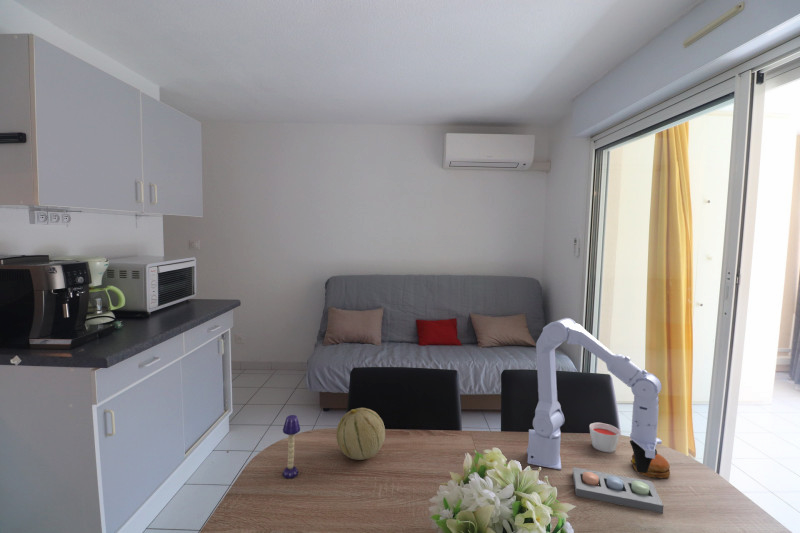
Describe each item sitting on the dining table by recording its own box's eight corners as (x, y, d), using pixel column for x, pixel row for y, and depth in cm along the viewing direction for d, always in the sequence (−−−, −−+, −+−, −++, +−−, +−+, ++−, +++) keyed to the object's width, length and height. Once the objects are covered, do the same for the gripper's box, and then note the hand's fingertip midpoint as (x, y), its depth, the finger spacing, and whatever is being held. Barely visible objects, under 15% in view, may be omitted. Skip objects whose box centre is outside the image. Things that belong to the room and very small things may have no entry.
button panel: (576, 495, 108) (576, 488, 108) (572, 473, 119) (572, 466, 119) (662, 513, 102) (663, 505, 102) (651, 488, 113) (651, 481, 112)
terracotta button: (583, 485, 111) (583, 478, 111) (581, 477, 115) (581, 470, 115) (599, 488, 110) (599, 481, 110) (597, 480, 114) (597, 473, 113)
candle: (624, 455, 130) (625, 435, 130) (596, 454, 130) (597, 434, 130) (610, 441, 139) (611, 423, 139) (583, 440, 139) (584, 422, 139)
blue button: (607, 490, 109) (608, 483, 109) (605, 482, 113) (605, 475, 113) (624, 493, 108) (624, 486, 108) (621, 485, 112) (621, 478, 112)
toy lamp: (303, 472, 115) (303, 415, 114) (292, 481, 111) (292, 421, 110) (289, 468, 117) (290, 411, 116) (278, 476, 113) (278, 418, 112)
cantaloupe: (393, 460, 123) (395, 412, 122) (350, 475, 115) (351, 423, 114) (369, 440, 135) (370, 395, 134) (327, 452, 127) (328, 404, 126)
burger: (677, 477, 119) (678, 461, 119) (653, 482, 116) (654, 466, 116) (646, 459, 128) (647, 445, 128) (623, 464, 125) (624, 449, 125)
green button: (633, 495, 107) (633, 487, 107) (629, 486, 111) (630, 479, 111) (650, 498, 106) (650, 491, 106) (646, 489, 110) (647, 482, 110)
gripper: (670, 436, 99) (667, 490, 100) (654, 412, 113) (651, 460, 114) (637, 431, 101) (634, 484, 102) (625, 408, 115) (622, 455, 116)
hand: (641, 471), depth 108 cm, fingers closed
